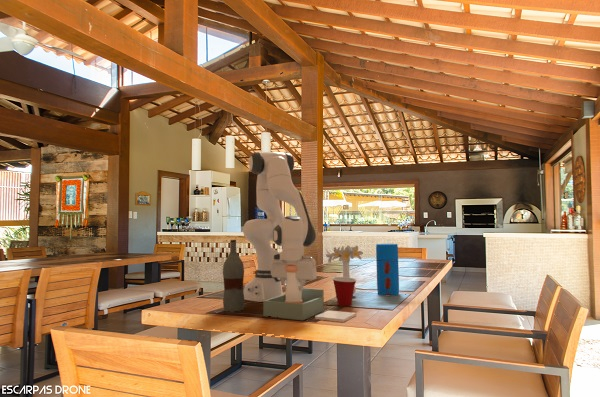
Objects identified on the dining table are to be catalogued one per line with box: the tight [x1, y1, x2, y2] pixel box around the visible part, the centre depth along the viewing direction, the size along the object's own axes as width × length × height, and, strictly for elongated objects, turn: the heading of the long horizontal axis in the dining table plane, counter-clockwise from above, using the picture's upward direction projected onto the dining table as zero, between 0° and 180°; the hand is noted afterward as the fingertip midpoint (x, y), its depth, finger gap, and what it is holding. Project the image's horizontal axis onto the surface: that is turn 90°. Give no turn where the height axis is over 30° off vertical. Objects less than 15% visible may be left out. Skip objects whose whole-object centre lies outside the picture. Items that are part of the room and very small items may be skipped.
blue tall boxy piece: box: [375, 243, 400, 297], centre depth 218 cm, size 11×11×25 cm
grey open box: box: [262, 287, 325, 321], centre depth 175 cm, size 18×18×9 cm
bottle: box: [222, 239, 246, 313], centre depth 184 cm, size 9×9×30 cm
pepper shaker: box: [285, 265, 303, 304], centre depth 176 cm, size 7×7×19 cm
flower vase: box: [325, 245, 364, 295], centre depth 213 cm, size 13×18×25 cm
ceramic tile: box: [314, 309, 357, 323], centre depth 167 cm, size 12×12×1 cm
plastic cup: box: [332, 276, 358, 308], centre depth 190 cm, size 11×11×12 cm
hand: (293, 289), depth 175 cm, fingers closed on pepper shaker, 5 cm apart
